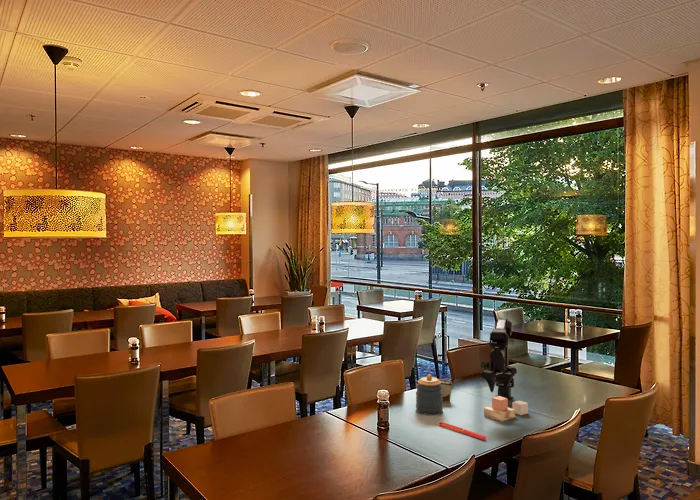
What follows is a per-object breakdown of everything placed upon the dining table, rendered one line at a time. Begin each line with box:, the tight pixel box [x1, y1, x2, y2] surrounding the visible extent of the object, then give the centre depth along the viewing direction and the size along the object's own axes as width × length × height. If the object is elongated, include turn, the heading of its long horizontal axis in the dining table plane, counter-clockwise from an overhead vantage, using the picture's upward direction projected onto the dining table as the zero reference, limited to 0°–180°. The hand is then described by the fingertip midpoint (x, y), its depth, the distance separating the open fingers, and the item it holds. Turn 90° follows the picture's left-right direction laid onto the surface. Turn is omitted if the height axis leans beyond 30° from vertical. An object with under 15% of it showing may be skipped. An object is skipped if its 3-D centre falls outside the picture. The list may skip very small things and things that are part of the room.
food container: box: [437, 378, 454, 403], centre depth 269 cm, size 12×6×10 cm, turn 84°
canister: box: [415, 373, 444, 416], centre depth 252 cm, size 13×13×18 cm
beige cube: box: [511, 399, 529, 416], centre depth 248 cm, size 5×5×5 cm
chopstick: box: [438, 421, 487, 441], centre depth 224 cm, size 24×2×5 cm
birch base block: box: [483, 405, 516, 422], centre depth 244 cm, size 10×10×4 cm
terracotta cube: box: [491, 395, 509, 411], centre depth 243 cm, size 5×5×5 cm
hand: (498, 390), depth 245 cm, fingers open, 9 cm apart
